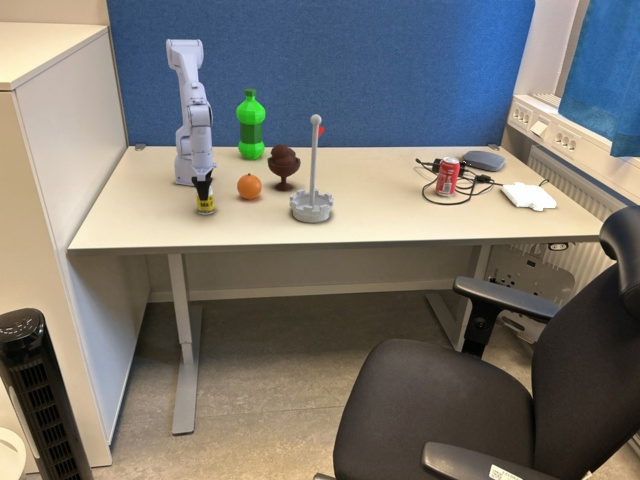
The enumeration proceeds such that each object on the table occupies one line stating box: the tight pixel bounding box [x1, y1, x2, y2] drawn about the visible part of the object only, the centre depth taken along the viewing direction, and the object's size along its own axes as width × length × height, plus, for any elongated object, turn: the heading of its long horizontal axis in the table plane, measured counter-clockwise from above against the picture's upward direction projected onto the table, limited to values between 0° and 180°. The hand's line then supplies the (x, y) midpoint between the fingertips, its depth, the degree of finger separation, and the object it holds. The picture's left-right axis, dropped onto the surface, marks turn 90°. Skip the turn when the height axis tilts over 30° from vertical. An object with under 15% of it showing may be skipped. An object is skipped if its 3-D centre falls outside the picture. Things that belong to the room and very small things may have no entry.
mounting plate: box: [501, 182, 557, 212], centre depth 159 cm, size 18×13×2 cm
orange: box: [236, 173, 263, 201], centre depth 146 cm, size 8×8×8 cm
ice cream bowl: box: [267, 143, 302, 192], centre depth 153 cm, size 11×11×15 cm
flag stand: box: [289, 113, 335, 224], centre depth 133 cm, size 13×13×30 cm
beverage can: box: [435, 156, 461, 197], centre depth 157 cm, size 6×6×12 cm
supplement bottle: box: [195, 183, 215, 216], centre depth 136 cm, size 5×5×8 cm
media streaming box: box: [461, 150, 506, 172], centre depth 186 cm, size 15×15×3 cm
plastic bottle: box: [235, 88, 266, 160], centre depth 172 cm, size 10×10×25 cm
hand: (204, 194), depth 136 cm, fingers open, 7 cm apart
